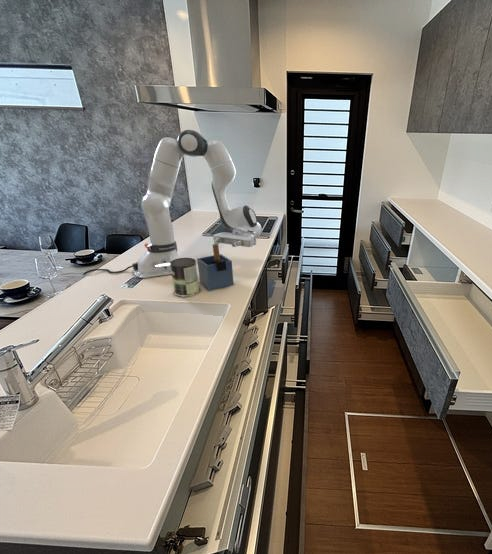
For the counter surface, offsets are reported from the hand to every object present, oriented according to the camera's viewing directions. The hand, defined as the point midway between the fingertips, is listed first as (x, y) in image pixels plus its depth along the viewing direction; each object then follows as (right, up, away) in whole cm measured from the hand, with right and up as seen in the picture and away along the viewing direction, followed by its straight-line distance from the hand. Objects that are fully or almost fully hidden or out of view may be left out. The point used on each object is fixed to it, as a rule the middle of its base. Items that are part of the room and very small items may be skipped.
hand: (224, 243), depth 138 cm
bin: (-5, -18, +4) cm, 19 cm away
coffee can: (-15, -22, -5) cm, 27 cm away
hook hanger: (-1, -17, -1) cm, 17 cm away
